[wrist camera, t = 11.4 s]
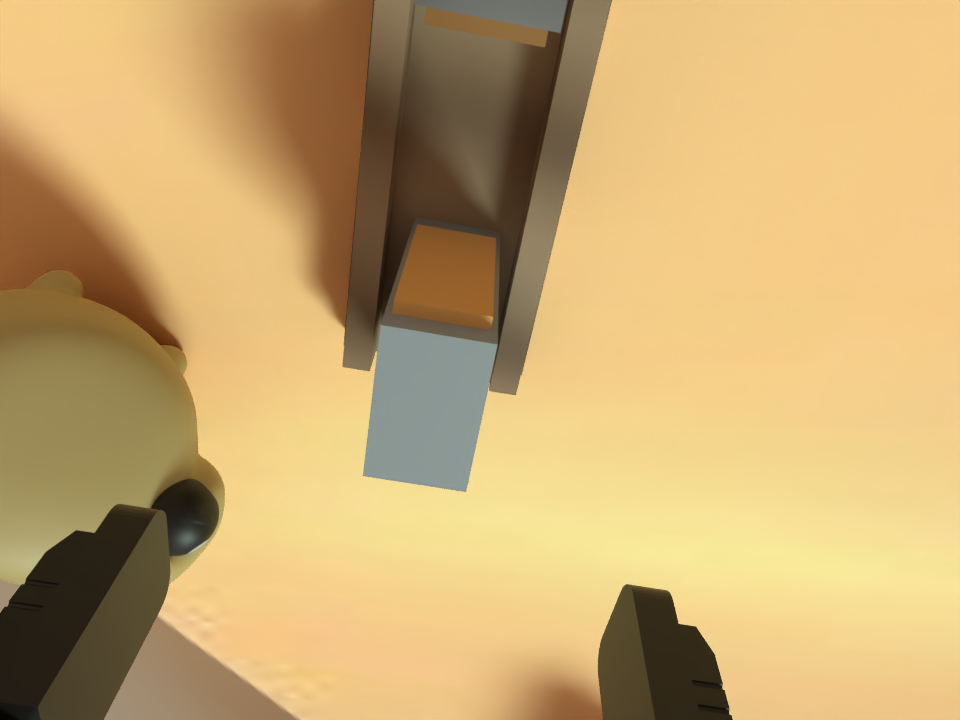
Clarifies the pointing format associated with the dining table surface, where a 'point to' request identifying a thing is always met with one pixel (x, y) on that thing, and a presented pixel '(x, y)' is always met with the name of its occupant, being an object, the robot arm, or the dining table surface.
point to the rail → (469, 147)
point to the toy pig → (93, 428)
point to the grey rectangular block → (435, 356)
